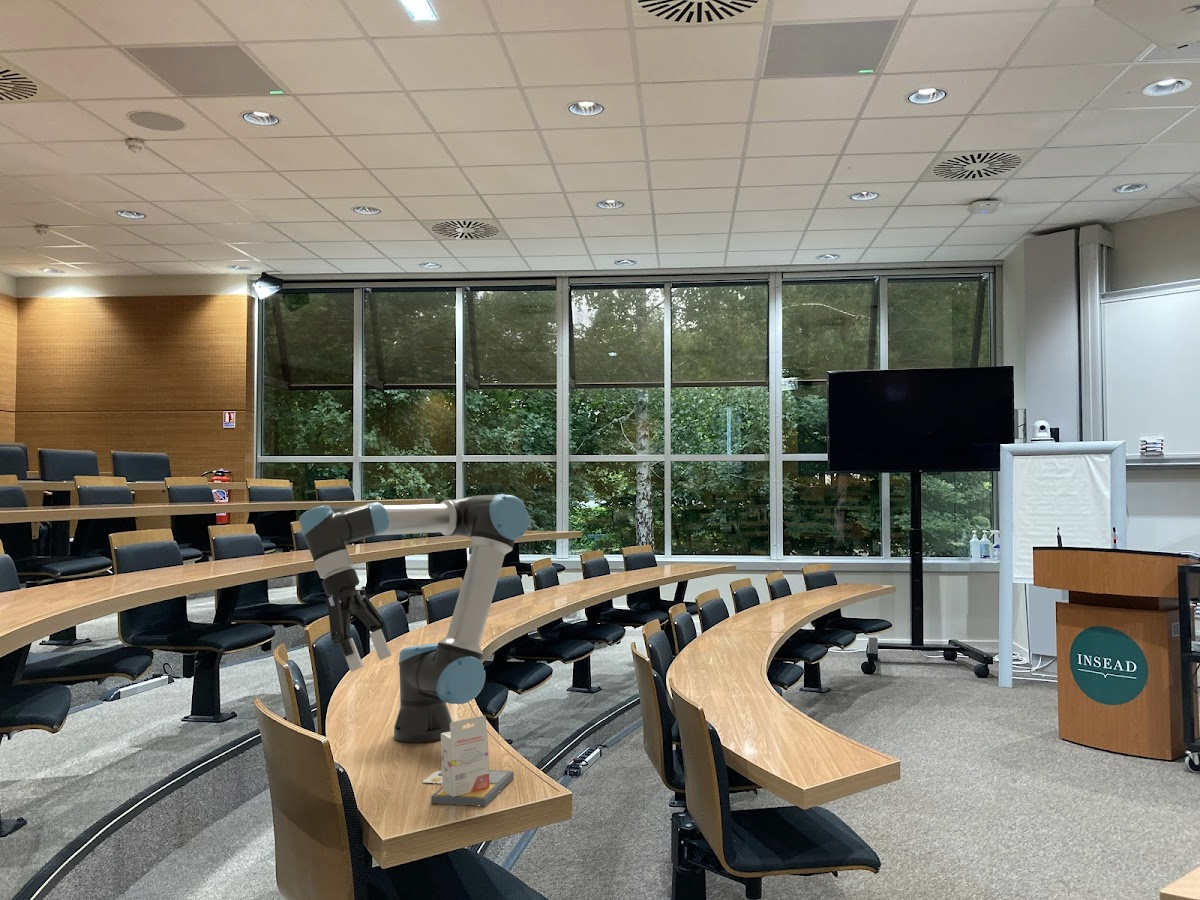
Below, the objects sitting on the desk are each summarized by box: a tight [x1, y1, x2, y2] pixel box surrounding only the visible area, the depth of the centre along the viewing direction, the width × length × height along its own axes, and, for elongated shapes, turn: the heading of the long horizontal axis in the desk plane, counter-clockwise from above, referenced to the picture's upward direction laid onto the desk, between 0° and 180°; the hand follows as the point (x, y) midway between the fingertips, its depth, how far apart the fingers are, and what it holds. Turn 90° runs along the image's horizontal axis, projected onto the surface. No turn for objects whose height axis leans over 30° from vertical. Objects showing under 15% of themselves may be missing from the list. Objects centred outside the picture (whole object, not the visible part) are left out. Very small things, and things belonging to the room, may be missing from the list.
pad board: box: [430, 769, 515, 807], centre depth 174 cm, size 17×12×2 cm
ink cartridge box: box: [440, 715, 490, 797], centre depth 170 cm, size 9×5×15 cm, turn 125°
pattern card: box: [421, 770, 442, 785], centre depth 182 cm, size 7×5×1 cm
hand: (372, 663), depth 182 cm, fingers open, 13 cm apart
